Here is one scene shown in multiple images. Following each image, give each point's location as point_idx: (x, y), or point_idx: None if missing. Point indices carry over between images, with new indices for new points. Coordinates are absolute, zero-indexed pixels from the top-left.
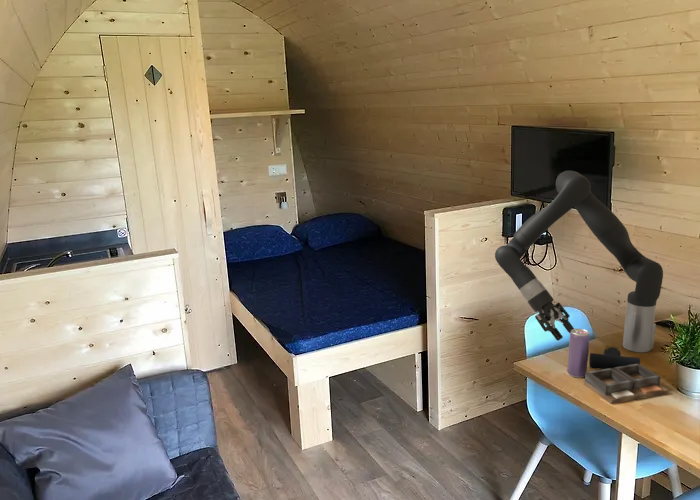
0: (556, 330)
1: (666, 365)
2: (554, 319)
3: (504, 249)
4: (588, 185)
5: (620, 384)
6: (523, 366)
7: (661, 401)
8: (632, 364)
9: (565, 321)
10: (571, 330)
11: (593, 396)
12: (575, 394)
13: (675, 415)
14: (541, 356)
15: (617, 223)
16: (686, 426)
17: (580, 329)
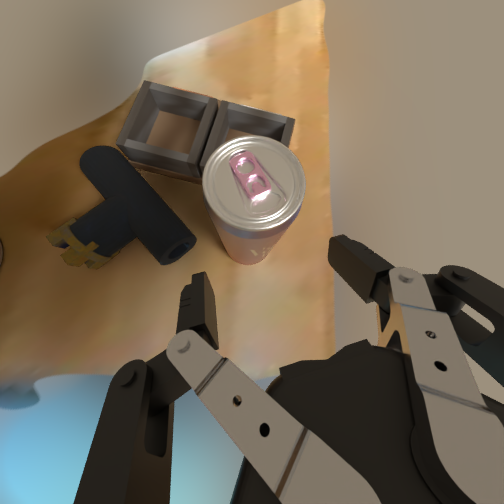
0: (376, 260)
1: (27, 158)
2: (406, 319)
3: None
4: None
5: (255, 111)
6: (332, 349)
7: (204, 86)
8: (134, 147)
9: (206, 337)
10: (282, 219)
11: (299, 160)
12: (324, 184)
13: (230, 53)
14: None
15: None
16: (247, 31)
17: (215, 207)
